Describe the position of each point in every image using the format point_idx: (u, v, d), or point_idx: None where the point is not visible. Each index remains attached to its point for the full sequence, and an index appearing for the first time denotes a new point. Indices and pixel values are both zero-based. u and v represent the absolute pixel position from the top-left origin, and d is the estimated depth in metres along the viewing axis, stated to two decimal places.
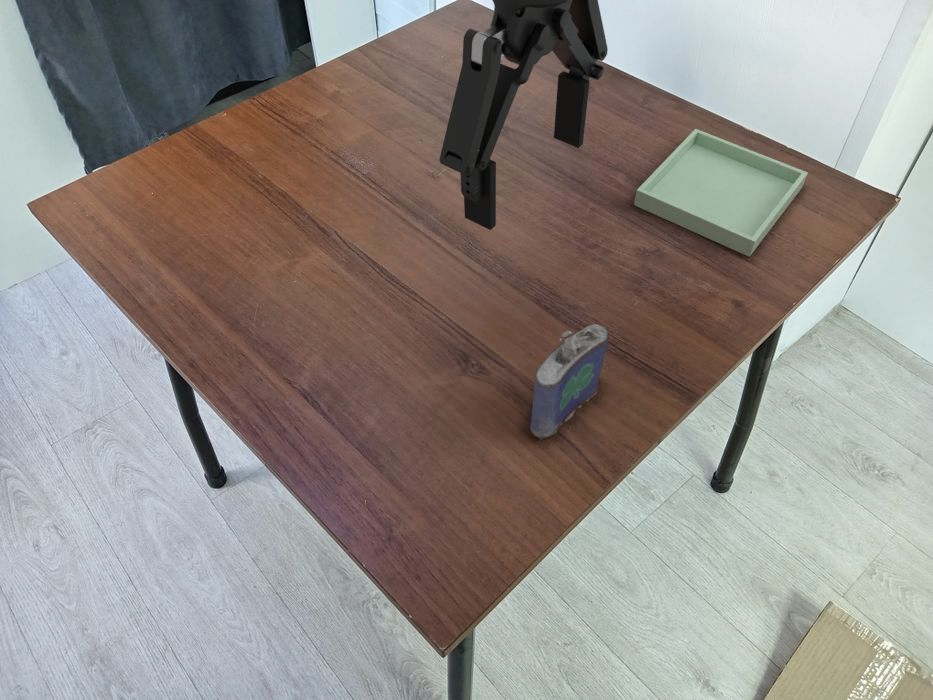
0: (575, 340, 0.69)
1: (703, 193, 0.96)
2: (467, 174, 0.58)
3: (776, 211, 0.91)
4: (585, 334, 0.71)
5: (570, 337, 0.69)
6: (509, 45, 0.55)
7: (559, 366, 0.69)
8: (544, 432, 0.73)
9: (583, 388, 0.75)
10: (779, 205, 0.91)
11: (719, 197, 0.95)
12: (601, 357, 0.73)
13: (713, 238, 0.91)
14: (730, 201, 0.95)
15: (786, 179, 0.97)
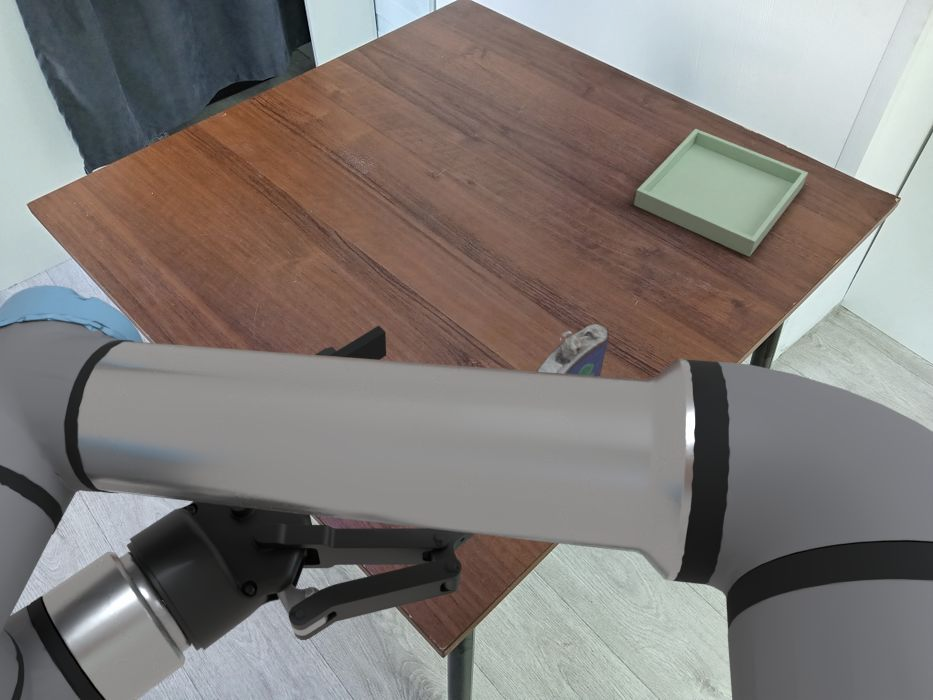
0: (575, 340, 0.69)
1: (703, 193, 0.96)
2: (459, 567, 0.44)
3: (776, 211, 0.91)
4: (585, 334, 0.71)
5: (570, 337, 0.69)
6: (292, 576, 0.44)
7: (559, 366, 0.69)
8: None
9: None
10: (779, 205, 0.91)
11: (719, 197, 0.95)
12: (601, 357, 0.73)
13: (713, 238, 0.91)
14: (730, 201, 0.95)
15: (786, 179, 0.97)
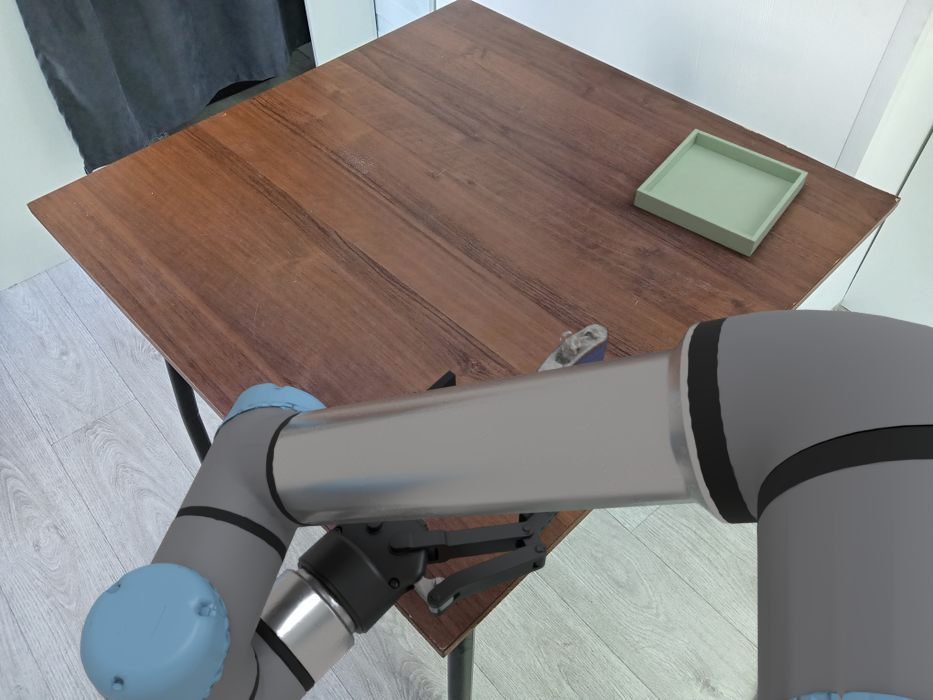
0: (575, 340, 0.69)
1: (703, 193, 0.96)
2: (545, 548, 0.59)
3: (776, 211, 0.91)
4: (585, 334, 0.71)
5: (570, 337, 0.69)
6: (423, 570, 0.59)
7: (559, 366, 0.69)
8: None
9: None
10: (779, 205, 0.91)
11: (719, 197, 0.95)
12: (601, 357, 0.73)
13: (713, 238, 0.91)
14: (730, 201, 0.95)
15: (786, 179, 0.97)
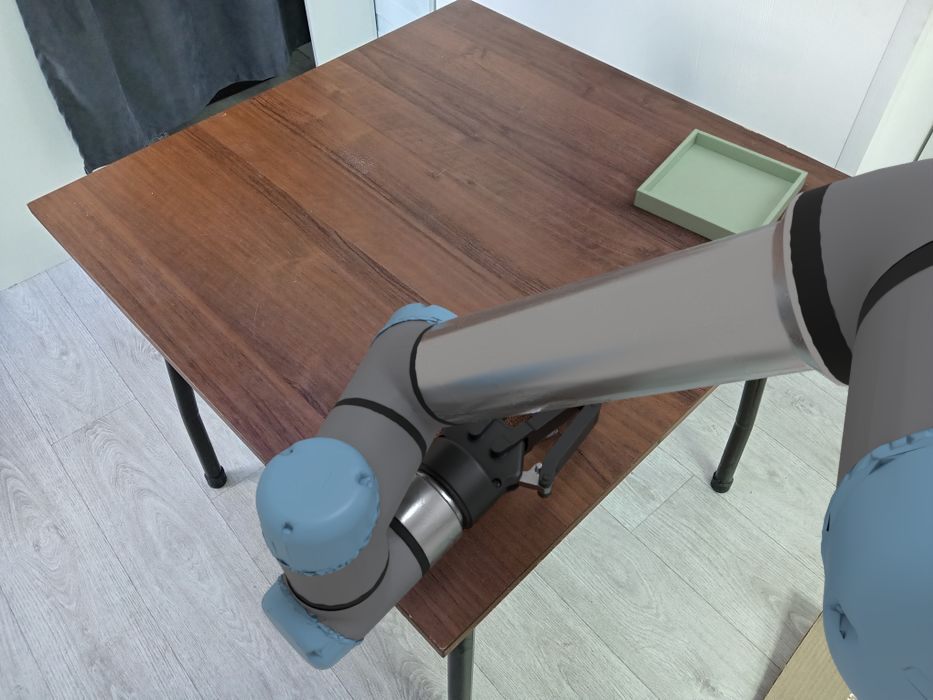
0: None
1: (703, 193, 0.96)
2: None
3: (776, 211, 0.91)
4: None
5: None
6: (521, 473, 0.64)
7: None
8: None
9: None
10: (779, 205, 0.91)
11: (719, 197, 0.95)
12: None
13: (713, 238, 0.91)
14: (730, 201, 0.95)
15: (786, 179, 0.97)
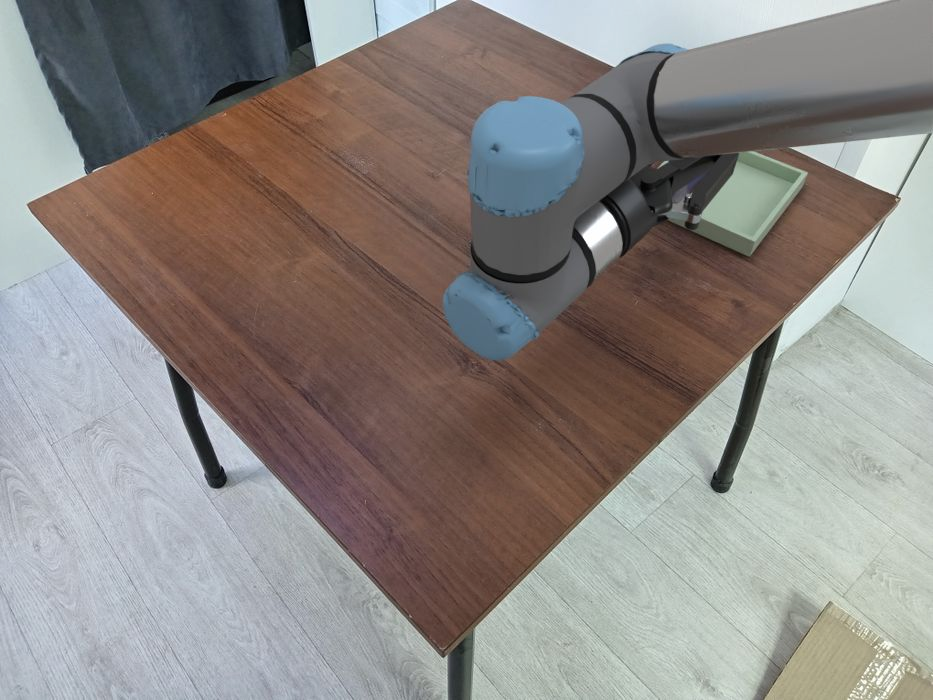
0: None
1: None
2: None
3: (776, 211, 0.91)
4: None
5: None
6: (672, 203, 0.68)
7: None
8: (676, 196, 0.76)
9: None
10: (779, 205, 0.91)
11: (719, 197, 0.95)
12: None
13: (713, 238, 0.91)
14: (730, 201, 0.95)
15: (786, 179, 0.97)
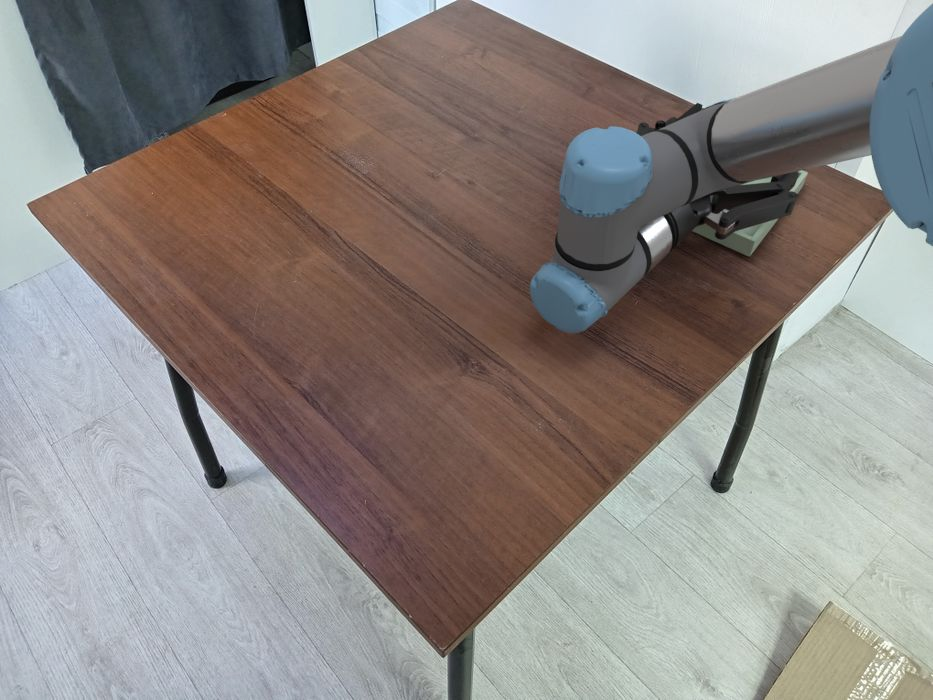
0: None
1: None
2: (796, 194, 0.83)
3: None
4: None
5: None
6: (711, 208, 0.83)
7: None
8: None
9: None
10: None
11: None
12: None
13: (713, 238, 0.91)
14: None
15: None
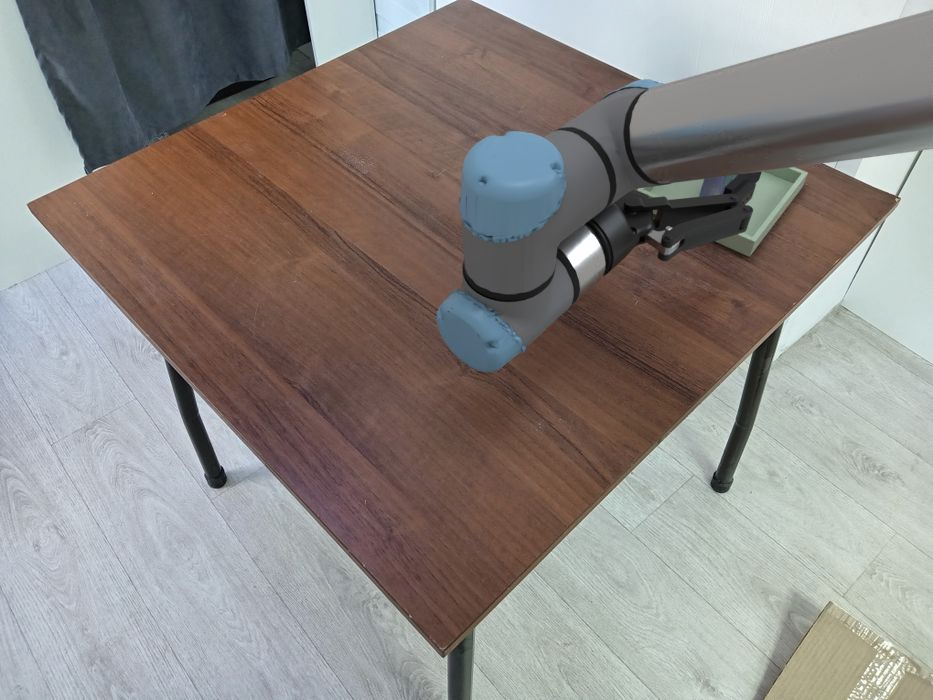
0: None
1: None
2: (751, 208, 0.72)
3: (776, 211, 0.91)
4: None
5: None
6: (653, 225, 0.72)
7: None
8: None
9: None
10: (779, 205, 0.91)
11: None
12: None
13: None
14: None
15: (786, 179, 0.97)
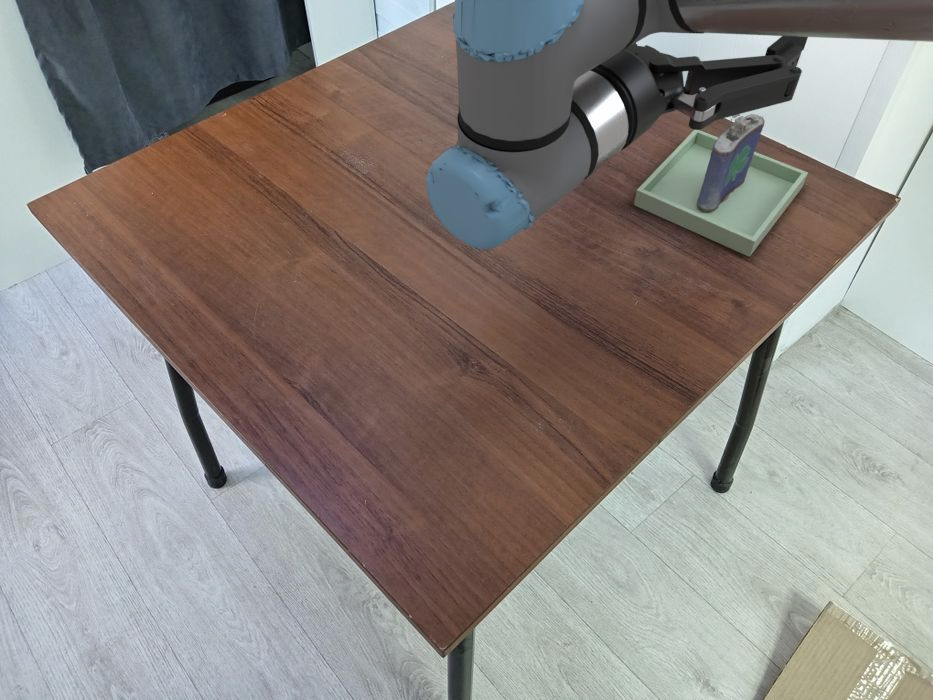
0: (743, 119, 0.87)
1: None
2: (800, 69, 0.61)
3: (776, 211, 0.91)
4: (746, 121, 0.90)
5: (739, 117, 0.88)
6: (684, 87, 0.61)
7: (730, 141, 0.88)
8: (711, 204, 0.92)
9: (739, 171, 0.94)
10: (779, 205, 0.91)
11: None
12: (756, 142, 0.92)
13: (713, 238, 0.91)
14: (730, 201, 0.95)
15: (786, 179, 0.97)
